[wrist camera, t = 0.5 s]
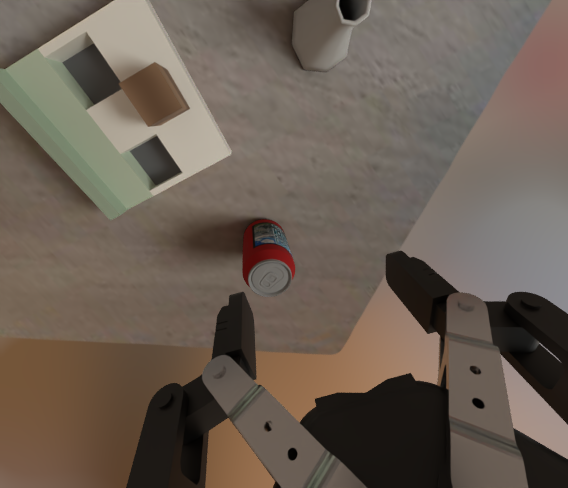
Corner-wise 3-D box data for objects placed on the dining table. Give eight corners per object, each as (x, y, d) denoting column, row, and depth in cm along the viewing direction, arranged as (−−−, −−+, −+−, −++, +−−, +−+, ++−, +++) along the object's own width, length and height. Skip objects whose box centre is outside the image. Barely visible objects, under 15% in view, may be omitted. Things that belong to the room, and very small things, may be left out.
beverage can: (292, 231, 40) (309, 273, 29) (267, 260, 42) (275, 308, 31) (259, 209, 37) (264, 245, 27) (234, 240, 39) (231, 286, 29)
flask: (283, 4, 27) (302, -51, 18) (346, -15, 26) (395, -79, 18) (298, 80, 30) (319, 66, 21) (353, 64, 30) (397, 43, 21)
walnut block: (167, 69, 25) (154, 61, 22) (190, 108, 27) (182, 107, 24) (135, 87, 26) (118, 83, 22) (160, 125, 28) (148, 126, 24)
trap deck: (148, -1, 25) (127, -26, 20) (231, 151, 33) (229, 157, 28) (17, 80, 26) (-28, 73, 22) (127, 207, 34) (110, 220, 30)
